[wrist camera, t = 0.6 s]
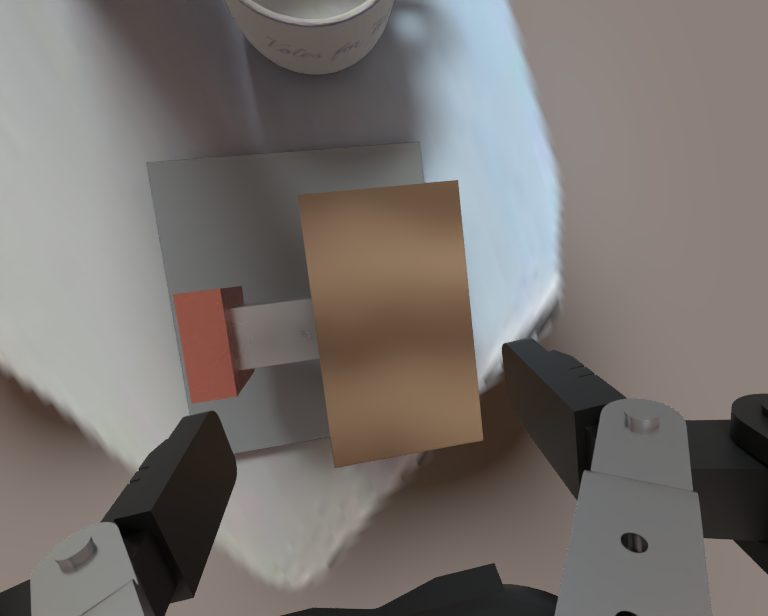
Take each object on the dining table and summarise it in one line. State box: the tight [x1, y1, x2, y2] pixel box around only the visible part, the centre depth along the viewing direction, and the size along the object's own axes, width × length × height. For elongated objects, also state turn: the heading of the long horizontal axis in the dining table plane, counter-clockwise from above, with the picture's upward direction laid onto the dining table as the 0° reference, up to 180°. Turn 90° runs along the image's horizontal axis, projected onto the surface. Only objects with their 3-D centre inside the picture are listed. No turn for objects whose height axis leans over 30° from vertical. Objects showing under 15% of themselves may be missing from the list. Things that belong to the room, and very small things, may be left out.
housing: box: [297, 180, 483, 468], centre depth 24 cm, size 12×7×12 cm, turn 7°
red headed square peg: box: [173, 286, 320, 404], centre depth 21 cm, size 5×9×5 cm, turn 97°
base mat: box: [146, 142, 424, 454], centre depth 29 cm, size 20×18×1 cm
